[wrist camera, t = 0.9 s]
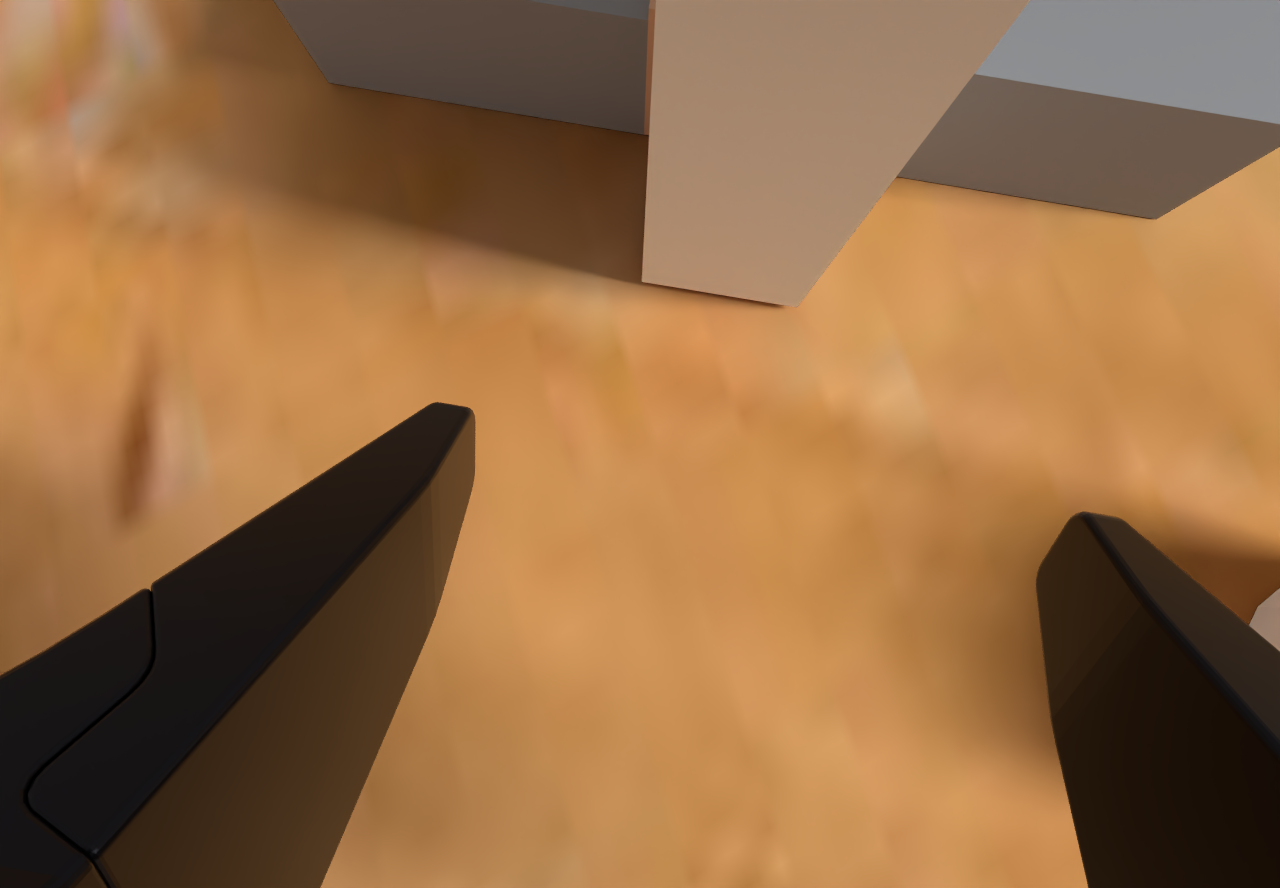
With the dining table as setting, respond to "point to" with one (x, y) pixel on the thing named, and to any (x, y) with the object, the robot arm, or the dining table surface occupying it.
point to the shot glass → (1268, 619)
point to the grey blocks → (957, 145)
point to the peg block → (791, 128)
